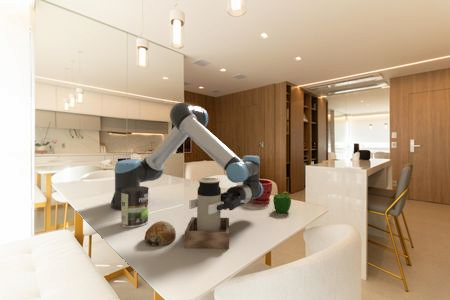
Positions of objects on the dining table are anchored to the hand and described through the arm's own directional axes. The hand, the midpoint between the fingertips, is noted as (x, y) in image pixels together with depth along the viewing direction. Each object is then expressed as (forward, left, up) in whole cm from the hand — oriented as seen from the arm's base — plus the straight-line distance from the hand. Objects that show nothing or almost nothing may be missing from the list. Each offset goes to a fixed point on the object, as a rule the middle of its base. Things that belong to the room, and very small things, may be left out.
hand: (199, 207), depth 72 cm
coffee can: (-28, +17, -12) cm, 35 cm away
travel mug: (+3, +4, -10) cm, 11 cm away
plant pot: (+28, +53, -12) cm, 61 cm away
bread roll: (-13, +2, -12) cm, 18 cm away
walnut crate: (+3, +4, -12) cm, 13 cm away
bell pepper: (+36, +36, -12) cm, 52 cm away
